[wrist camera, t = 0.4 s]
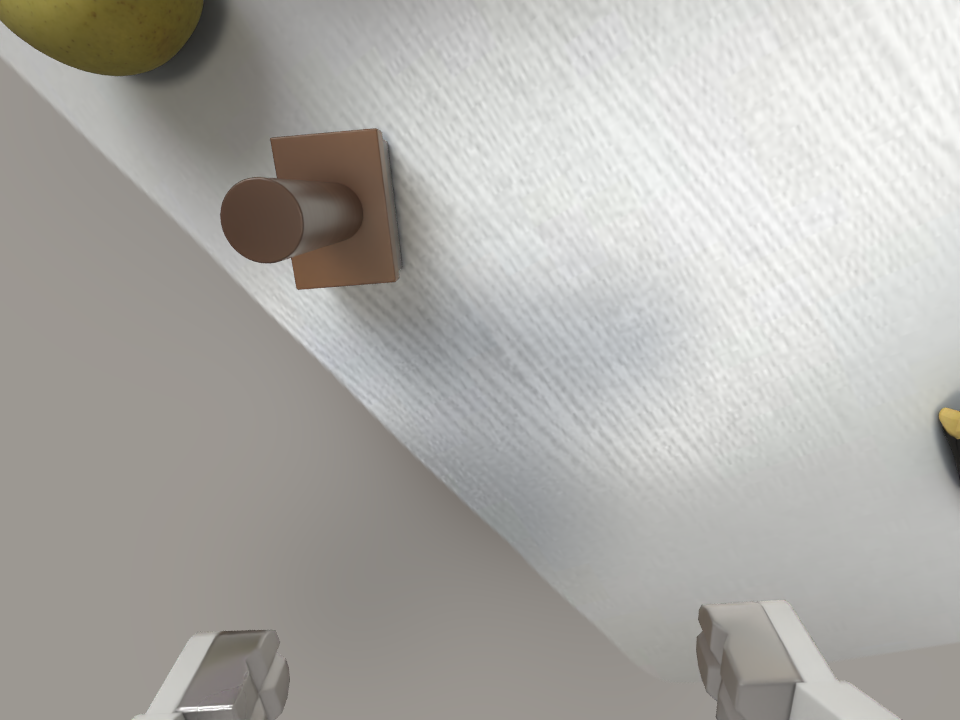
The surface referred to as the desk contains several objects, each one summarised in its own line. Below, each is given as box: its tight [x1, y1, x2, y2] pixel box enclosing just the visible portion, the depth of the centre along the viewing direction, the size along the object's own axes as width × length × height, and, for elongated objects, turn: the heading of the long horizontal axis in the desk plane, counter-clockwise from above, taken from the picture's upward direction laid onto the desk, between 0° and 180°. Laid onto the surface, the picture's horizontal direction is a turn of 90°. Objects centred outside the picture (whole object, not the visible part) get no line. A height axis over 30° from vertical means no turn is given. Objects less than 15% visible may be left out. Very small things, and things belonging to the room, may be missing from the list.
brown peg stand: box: [220, 128, 402, 290], centre depth 23 cm, size 7×5×12 cm
